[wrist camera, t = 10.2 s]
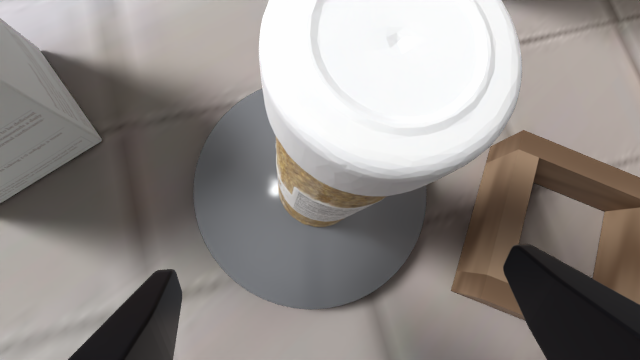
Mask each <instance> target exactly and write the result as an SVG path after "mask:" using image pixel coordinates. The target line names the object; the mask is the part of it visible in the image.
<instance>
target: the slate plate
mask: <svg viewBox="0 0 640 360" xmlns="http://www.w3.org/2000/svg"><path fill="white" fill-rule="evenodd" d="M193 198H194V207H195V214H196V218H197V222H198V226H199V230H200V232H201V234H202V237H203V239H204V242H205V244H206V246H207V247H208V249H209V251H210V253H211V254H212V256H213V258H214V259H215V260H216V261H217V263H218V264H219V265H220V267H221V268H222V269H223V270H224V271H225V272H226V273H227V274H228V275H229V276H230V277H231V278H232V279H233V280H234V281H235V282H236V283H238V284H239V285H241V286H242V287H243V288H245V289H246V290H247V291H249V292H251V293H253V294H255V295H256V296H258V297H260V298H262V299H264V300H267V301H270V302H273V303H275V304H278V305H282V306H287V307H292V308H299V309H324V308H331V307H336V306H341V305H344V304H347V303H350V302H353V301H356V300H358V299H360V298H362V297H364V296H366V295H368V294H370V293H372V292H373V291H375V290H376V289H378V288H379V287H380V286H382V285H383V284H385V283H386V282H387V281H388V280H389V279H390V278H391V277H392V276H393V275H394V274H395V273H396V272H397V271H398V270H399V269H400V267H401V266H402V265H403V264H404V263H405V261H406V260H407V258H408V257H409V255H410V253H411V252H412V250H413V248H414V246H415V244H416V242H417V239H418V237H419V235H420V232H421V228H422V225H423V221H424V216H425V210H426V185H425V186H423V187H420V188H418V189H415V190H412V191H409V192H405V193H401V194H396V195H390V196H387V197H385V198H384V199H382V200H381V201H379V202H377V203H375V204H373V205H371V206H369V207H367V208H365V209H363V210H360V211H358V212H356V213H354V214H352V215H350V216H348V217H346V218H344V219H342V220H341V221H339V222H338V223H336V224H334V225H330V226H326V227H314V226H310V225H305V224H303V223H301V222H299V221H298V220H296V219H295V218H293V217H292V216H291V215H290V214H289V213H288V212H287V210H286V209H285V208H284V206H283V204H282V202H281V200H280V197H279V191H278V176H277V167H276V135H275V134H274V131H273V129H272V127H271V125H270V122H269V119H268V116H267V112H266V108H265V102H264V96H263V89H260V90H258V91H256V92H254V93H252V94H250V95H248V96H247V97H245V98H244V99H243V100H241V101H240V102H238V103H237V104H236V105H234V106H233V107H232V108H231V109H230V110H229V111H228V112H227V113H226V114H225V115H224V116H223V117H222V118H221V119H220V121H219V122H218V123H217V124H216V125H215V127H214V128H213V130H212V132H211V133H210V135H209V136H208V138H207V140H206V142H205V144H204V146H203V148H202V151H201V153H200V156H199V160H198V163H197V166H196V172H195V178H194V193H193Z"/></svg>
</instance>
